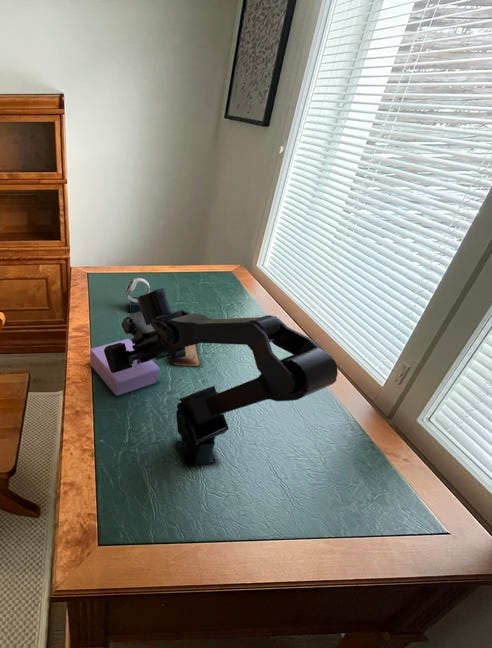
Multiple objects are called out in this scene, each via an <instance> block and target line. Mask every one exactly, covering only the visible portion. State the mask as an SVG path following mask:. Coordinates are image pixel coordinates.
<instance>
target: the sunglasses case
mask: <svg viewBox="0 0 492 648" xmlns="http://www.w3.org/2000/svg"><path fill="white" fill-rule="evenodd" d="M196 346H197V344H194V345H191V346H187V347H185V351H186V356H185V357H183V358H180V359H176V360H173V361H171V360H170V362H171V364H172V365H174V366H181V367H199V366H200V360H199V355H198V351H197V347H196Z"/></svg>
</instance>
